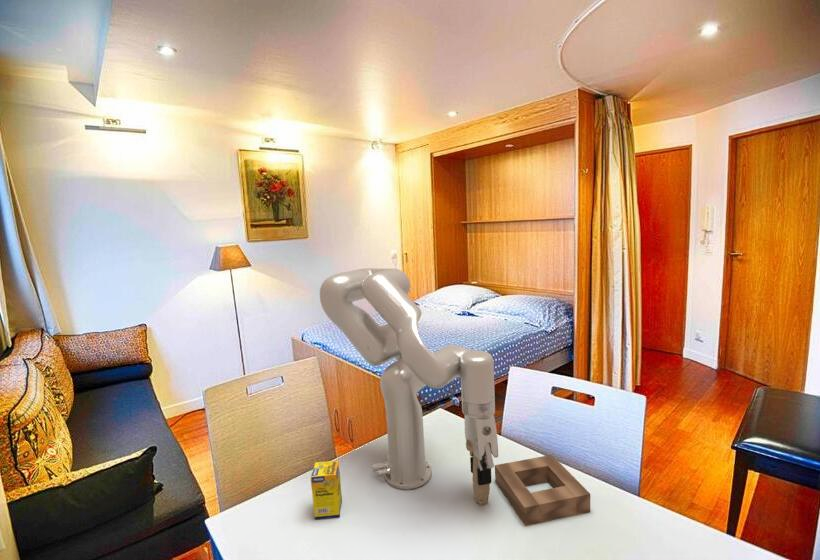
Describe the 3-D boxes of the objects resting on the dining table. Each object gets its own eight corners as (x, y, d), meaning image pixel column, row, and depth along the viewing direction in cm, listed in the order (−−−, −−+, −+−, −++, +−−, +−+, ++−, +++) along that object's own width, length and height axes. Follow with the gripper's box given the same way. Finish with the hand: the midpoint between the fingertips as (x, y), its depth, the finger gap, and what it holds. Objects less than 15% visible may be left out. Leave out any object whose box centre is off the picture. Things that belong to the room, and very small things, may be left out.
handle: (495, 509, 94) (493, 449, 92) (467, 506, 95) (464, 447, 93) (495, 496, 98) (494, 438, 96) (469, 493, 100) (467, 436, 98)
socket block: (524, 526, 88) (524, 507, 88) (495, 481, 104) (494, 465, 103) (590, 512, 91) (590, 493, 91) (552, 470, 107) (551, 454, 106)
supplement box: (340, 517, 94) (336, 474, 93) (314, 520, 94) (309, 477, 92) (342, 500, 100) (339, 459, 99) (318, 502, 100) (314, 462, 98)
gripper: (509, 419, 86) (511, 497, 89) (480, 388, 102) (482, 455, 105) (475, 424, 85) (478, 504, 87) (451, 392, 101) (455, 460, 103)
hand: (480, 477), depth 96 cm, fingers closed on handle, 3 cm apart
